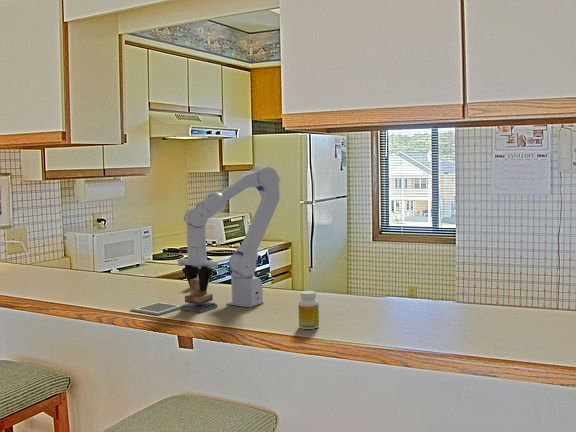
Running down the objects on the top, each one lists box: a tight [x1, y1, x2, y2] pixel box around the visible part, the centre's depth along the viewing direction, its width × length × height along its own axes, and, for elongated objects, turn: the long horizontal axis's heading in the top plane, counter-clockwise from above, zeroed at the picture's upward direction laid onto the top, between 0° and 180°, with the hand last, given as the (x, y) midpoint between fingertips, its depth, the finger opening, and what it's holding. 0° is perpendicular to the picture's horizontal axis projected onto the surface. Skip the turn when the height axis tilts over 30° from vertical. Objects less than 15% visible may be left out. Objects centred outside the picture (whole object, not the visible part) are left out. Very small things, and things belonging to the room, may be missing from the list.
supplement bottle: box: [298, 290, 320, 330], centre depth 171 cm, size 5×5×10 cm
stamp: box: [184, 277, 214, 304], centre depth 195 cm, size 6×6×7 cm
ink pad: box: [180, 301, 218, 314], centre depth 195 cm, size 8×8×2 cm
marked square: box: [129, 301, 183, 317], centre depth 196 cm, size 12×12×1 cm
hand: (198, 290), depth 195 cm, fingers closed on stamp, 3 cm apart
